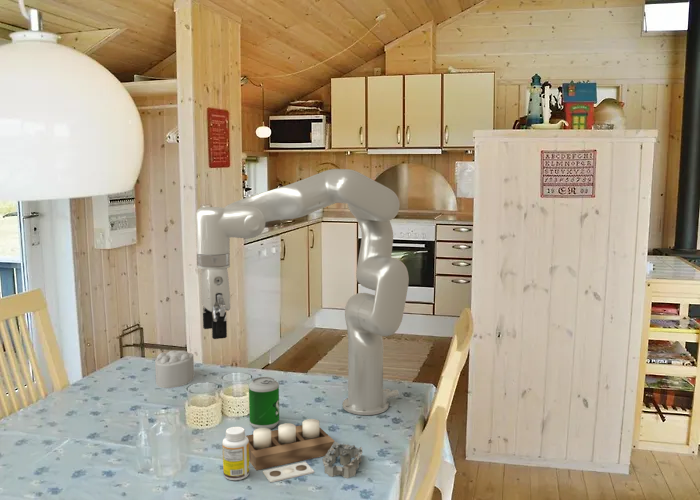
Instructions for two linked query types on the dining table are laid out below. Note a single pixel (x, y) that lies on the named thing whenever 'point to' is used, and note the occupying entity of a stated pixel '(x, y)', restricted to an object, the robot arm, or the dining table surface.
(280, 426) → the button middle
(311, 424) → the button
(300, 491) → the dining table surface
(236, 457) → the supplement bottle
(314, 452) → the wooden compartment box
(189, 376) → the lumpy-topped squat cylinder
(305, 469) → the card
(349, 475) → the grey toy castle
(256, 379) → the soda can
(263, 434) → the cream rounded cylinder
